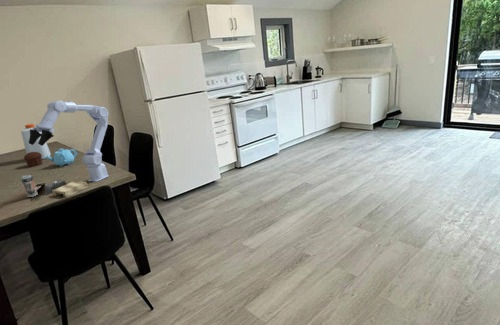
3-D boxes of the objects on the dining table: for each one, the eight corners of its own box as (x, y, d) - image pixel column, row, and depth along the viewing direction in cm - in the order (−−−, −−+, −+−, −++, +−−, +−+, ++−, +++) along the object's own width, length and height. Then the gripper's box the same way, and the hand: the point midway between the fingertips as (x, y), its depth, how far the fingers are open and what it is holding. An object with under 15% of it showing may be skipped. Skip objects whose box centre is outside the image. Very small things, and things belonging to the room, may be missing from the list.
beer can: (28, 198, 172) (20, 178, 168) (27, 196, 176) (20, 176, 172) (38, 196, 175) (31, 175, 171) (37, 193, 178) (31, 173, 175)
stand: (75, 185, 184) (74, 180, 184) (88, 186, 180) (86, 181, 180) (53, 195, 172) (52, 190, 172) (66, 197, 168) (64, 191, 167)
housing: (63, 185, 188) (61, 177, 186) (69, 185, 186) (66, 177, 184) (43, 193, 177) (41, 185, 176) (49, 194, 175) (47, 186, 174)
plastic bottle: (31, 158, 264) (20, 125, 256) (51, 154, 270) (41, 121, 261) (27, 162, 251) (15, 127, 242) (49, 158, 257) (38, 124, 248)
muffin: (29, 168, 233) (25, 155, 230) (24, 166, 240) (19, 154, 236) (47, 163, 242) (43, 150, 239) (41, 161, 248) (37, 149, 245)
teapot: (78, 159, 245) (73, 144, 241) (81, 163, 232) (76, 147, 228) (48, 165, 235) (43, 150, 231) (49, 170, 221) (44, 154, 218)
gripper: (32, 116, 164) (19, 139, 159) (50, 117, 158) (37, 141, 153) (44, 124, 170) (31, 146, 165) (62, 124, 164) (50, 148, 159)
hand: (35, 144), depth 159 cm, fingers open, 7 cm apart
